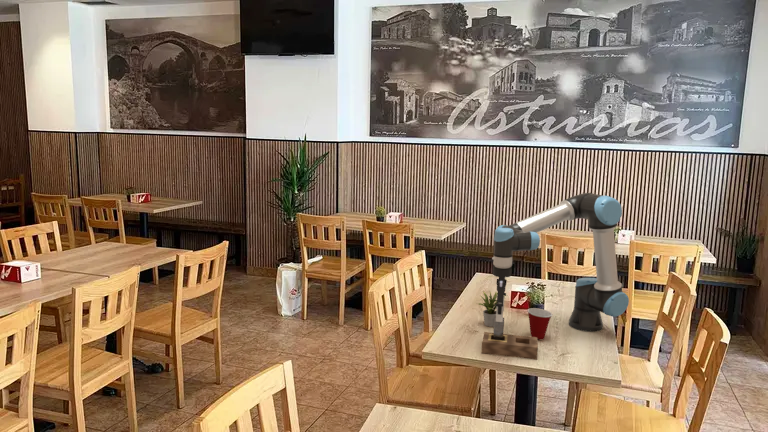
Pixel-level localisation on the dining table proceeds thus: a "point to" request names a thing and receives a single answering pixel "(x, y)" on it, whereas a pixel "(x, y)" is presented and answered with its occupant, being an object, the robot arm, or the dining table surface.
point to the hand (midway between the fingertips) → (499, 316)
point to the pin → (498, 330)
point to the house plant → (489, 309)
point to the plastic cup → (538, 322)
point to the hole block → (510, 346)
